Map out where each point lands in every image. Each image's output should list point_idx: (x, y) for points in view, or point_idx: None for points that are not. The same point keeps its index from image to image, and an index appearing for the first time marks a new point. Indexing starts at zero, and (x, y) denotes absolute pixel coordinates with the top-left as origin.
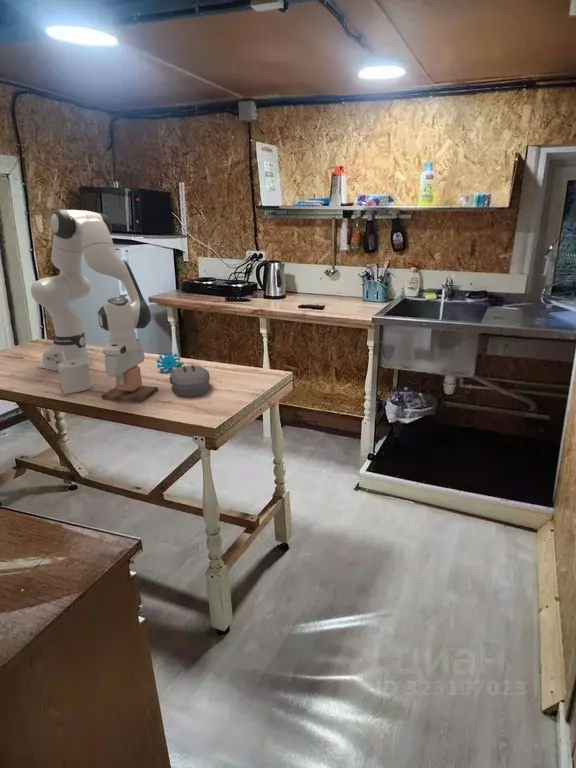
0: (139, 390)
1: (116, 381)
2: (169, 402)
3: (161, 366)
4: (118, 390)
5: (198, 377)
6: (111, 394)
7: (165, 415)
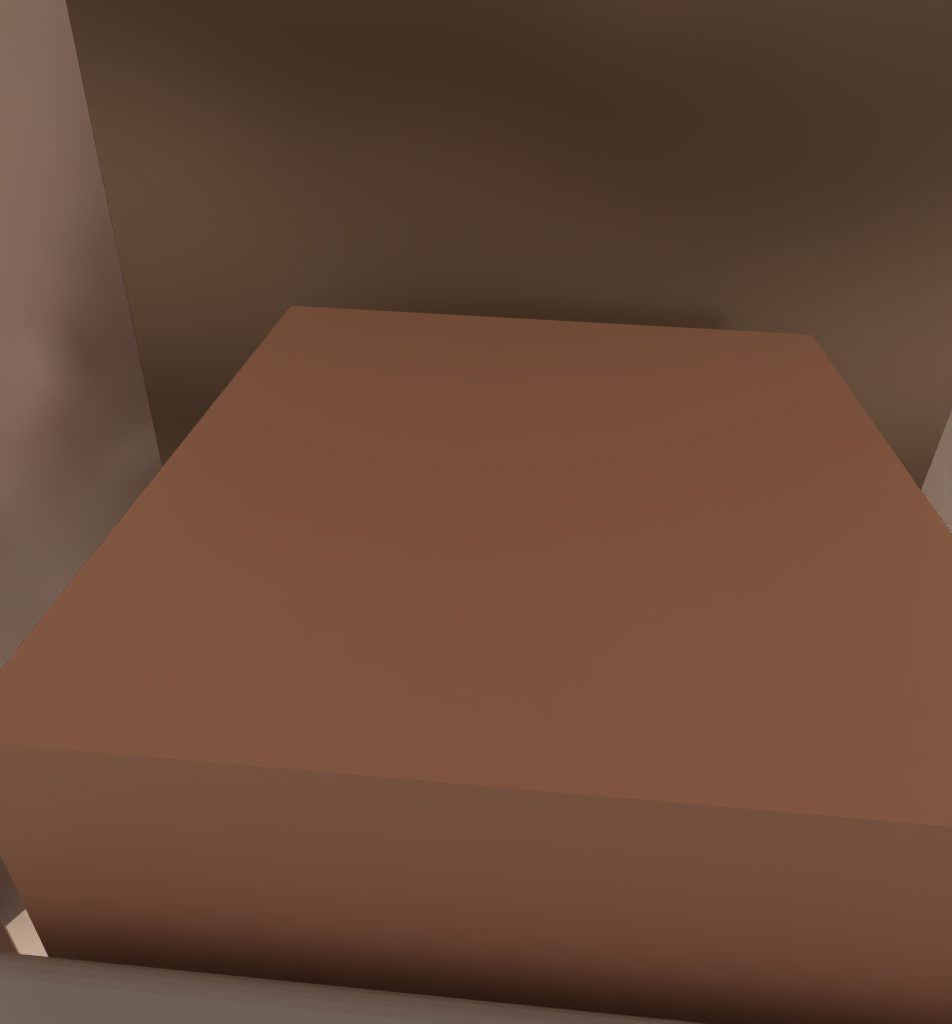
0: None
1: (205, 434)
2: None
3: None
4: (520, 175)
5: None
6: (197, 141)
7: None
